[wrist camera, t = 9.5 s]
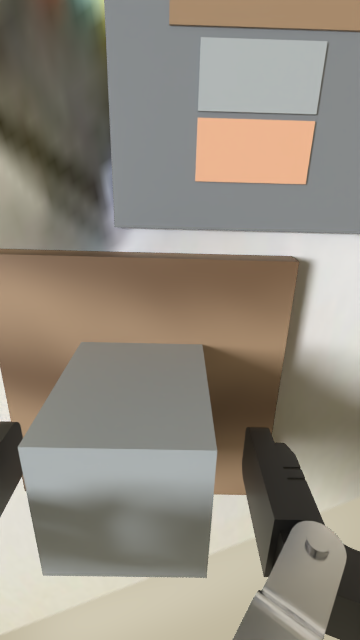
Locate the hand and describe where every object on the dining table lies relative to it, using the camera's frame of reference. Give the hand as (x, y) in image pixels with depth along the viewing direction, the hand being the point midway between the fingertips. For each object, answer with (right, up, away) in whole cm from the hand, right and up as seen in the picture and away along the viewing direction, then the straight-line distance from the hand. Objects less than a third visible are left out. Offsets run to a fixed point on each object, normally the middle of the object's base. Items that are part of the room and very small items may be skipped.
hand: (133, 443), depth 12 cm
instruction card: (+4, +12, 0) cm, 12 cm away
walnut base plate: (0, +2, +4) cm, 4 cm away
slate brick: (0, +1, +3) cm, 3 cm away
